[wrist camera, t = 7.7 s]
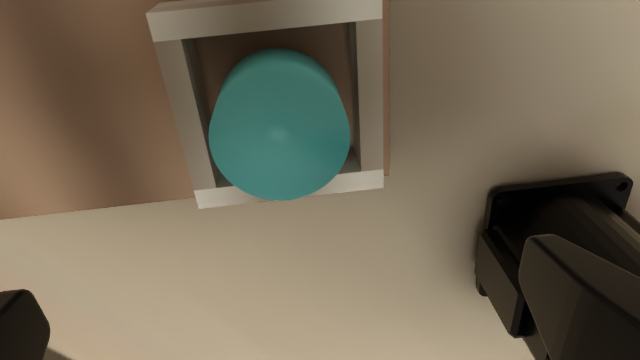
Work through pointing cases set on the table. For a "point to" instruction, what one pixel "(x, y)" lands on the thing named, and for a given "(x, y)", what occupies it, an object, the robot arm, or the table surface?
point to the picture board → (165, 95)
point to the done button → (279, 125)
